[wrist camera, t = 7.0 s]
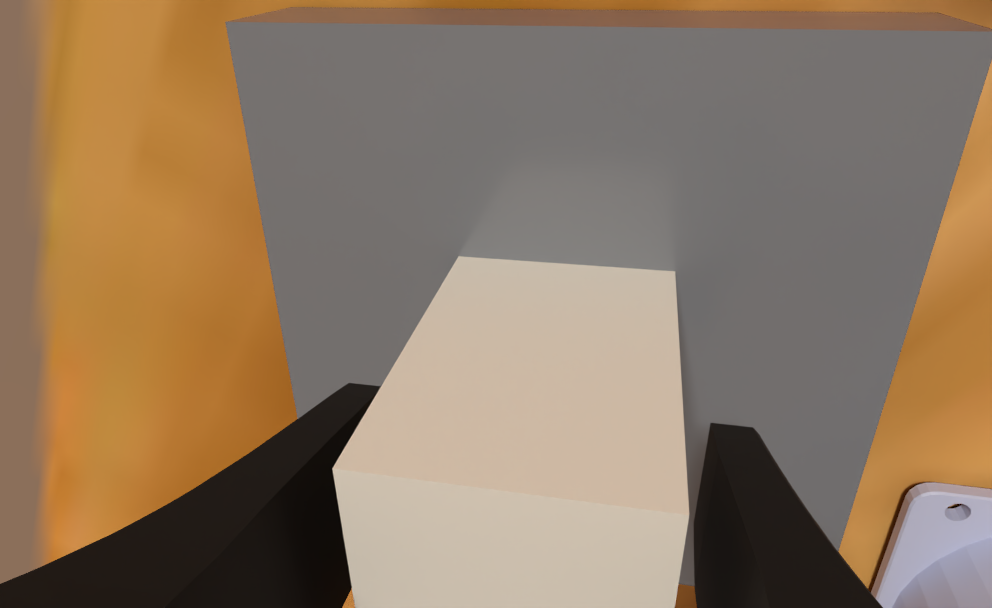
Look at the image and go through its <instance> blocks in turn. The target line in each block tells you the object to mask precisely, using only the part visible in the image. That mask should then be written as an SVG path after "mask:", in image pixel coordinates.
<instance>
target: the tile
mask: <svg viewBox="0 0 992 608" xmlns="http://www.w3.org/2000/svg"><path fill="white" fill-rule="evenodd" d="M226 27H227V33H228V38H229V44H230V49H231V55H232V60H233V66H234V71H235V77H236V82H237V88H238V93H239V99H240V104H241V110H242V115H243V121H244V126H245V131H246V137H247V142H248V148H249V153H250V159H251V164H252V170H253V175H254V181H255V186H256V192H257V197H258V203H259V208H260V214H261V219H262V225H263V230H264V236H265V241H266V247H267V252H268V258H269V263H270V269H271V274H272V280H273V285H274V291H275V296H276V302H277V307H278V313H279V318H280V324H281V329H282V335H283V340H284V345H285V351H286V356H287V362H288V367H289V373H290V378H291V384H292V389H293V395H294V400H295V406H296V411H297V417H298V418H300V417H301V416H303V415H304V414H305V413H307V412H308V411H309V410H311V409H312V408H314V407H315V406H316V405H318V404H319V403H320V402H322V401H323V400H325V399H326V398H327V397H329V396H330V395H332V394H333V393H334V392H336V391H337V390H339V389H340V388H342V387H343V386H345V385H346V384H348V383H355V384H364V385H373V386H382V384H383V383H384V381H385V379H386V377H387V376H388V374H389V372H390V371H391V369H392V367H393V366H394V364H395V362H396V361H397V359H398V357H399V356H400V354H401V352H402V351H403V349H404V347H405V346H406V344H407V342H408V340H409V339H410V337H411V335H412V334H413V332H414V330H415V329H416V327H417V325H418V324H419V322H420V320H421V319H422V317H423V315H424V314H425V312H426V310H427V309H428V307H429V305H430V304H431V302H432V300H433V298H434V297H435V295H436V293H437V292H438V290H439V288H440V287H441V285H442V283H443V282H444V280H445V278H446V277H447V275H448V273H449V272H450V270H451V268H452V267H453V265H454V263H455V262H456V260H457V258H458V256H462V257H476V258H490V259H505V260H519V261H533V262H548V263H562V264H576V265H591V266H605V267H619V268H633V269H648V270H662V271H675V277H676V294H677V311H678V329H679V346H680V363H681V380H682V398H683V415H684V432H685V449H686V467H687V484H688V501H689V520H688V527H687V533H686V539H685V546H684V552H683V558H682V565H681V571H680V577H679V584H683V585H689V586H695V585H694V518H695V512H696V506H697V500H698V494H699V488H700V482H701V476H702V470H703V464H704V458H705V452H706V447H707V441H708V435H709V429H710V423H718V424H727V425H736V426H745V427H753V428H754V429H755V430H756V431H757V432H758V434H759V435H760V436H761V438H762V440H763V441H764V443H765V445H766V446H767V448H768V450H769V451H770V453H771V455H772V456H773V458H774V460H775V461H776V463H777V464H778V466H779V468H780V469H781V471H782V472H783V474H784V475H785V477H786V478H787V480H788V482H789V483H790V485H791V486H792V488H793V489H794V491H795V492H796V494H797V495H798V497H799V498H800V500H801V501H802V503H803V504H804V505H805V507H806V508H807V510H808V511H809V513H810V514H811V515H812V517H813V518H814V520H815V521H816V522H817V524H818V525H819V526H820V528H821V529H822V531H823V532H824V533H825V535H826V536H827V538H828V539H829V540H830V542H831V543H832V544H833V546H834V547H835V548H836V550H837V551H839V547H840V544H841V541H842V538H843V535H844V531H845V528H846V525H847V522H848V519H849V515H850V512H851V509H852V506H853V502H854V499H855V496H856V493H857V490H858V486H859V483H860V480H861V477H862V474H863V470H864V467H865V464H866V461H867V458H868V454H869V451H870V448H871V445H872V442H873V438H874V435H875V432H876V429H877V425H878V422H879V419H880V416H881V413H882V409H883V406H884V403H885V400H886V397H887V393H888V390H889V387H890V384H891V381H892V377H893V374H894V371H895V368H896V365H897V361H898V358H899V355H900V352H901V348H902V345H903V342H904V339H905V336H906V332H907V329H908V326H909V323H910V320H911V316H912V313H913V310H914V307H915V304H916V300H917V297H918V294H919V291H920V288H921V284H922V281H923V278H924V275H925V272H926V268H927V265H928V262H929V259H930V255H931V252H932V249H933V246H934V243H935V239H936V236H937V233H938V230H939V227H940V223H941V220H942V217H943V214H944V211H945V207H946V204H947V201H948V198H949V195H950V191H951V188H952V185H953V182H954V178H955V175H956V172H957V169H958V166H959V162H960V159H961V156H962V153H963V150H964V146H965V143H966V140H967V137H968V134H969V130H970V127H971V124H972V121H973V118H974V114H975V111H976V108H977V105H978V101H979V98H980V95H981V92H982V89H983V85H984V82H985V79H986V76H987V73H988V69H989V66H990V63H991V60H992V29H990V28H986V27H983V26H980V25H977V24H973V23H970V22H967V21H963V20H960V19H957V18H954V17H950V16H947V15H944V14H941V13H907V12H789V11H670V10H551V9H433V8H314V7H290V8H286V9H281V10H277V11H272V12H268V13H263V14H259V15H254V16H250V17H245V18H241V19H236V20H232V21H228V22H226Z"/></svg>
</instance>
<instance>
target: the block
mask: <svg viewBox="0 0 992 608" xmlns="http://www.w3.org/2000/svg"><path fill="white" fill-rule="evenodd" d="M332 470H333V476H334V482H335V488H336V494H337V500H338V506H339V512H340V518H341V524H342V530H343V536H344V543H345V549H346V555H347V561H348V567H349V573H350V579H351V585H352V591H353V597H354V603H355V608H675V603H676V596H677V590H678V584H679V577H680V571H681V565H682V558H683V552H684V546H685V539H686V533H687V527H688V520H689V501H688V484H687V467H686V449H685V432H684V415H683V398H682V380H681V363H680V346H679V329H678V311H677V294H676V277H675V271H662V270H648V269H633V268H619V267H605V266H591V265H576V264H562V263H548V262H533V261H519V260H505V259H490V258H476V257H462V256H458V258H457V260H456V262H455V263H454V265H453V267H452V268H451V270H450V272H449V273H448V275H447V277H446V278H445V280H444V282H443V283H442V285H441V287H440V288H439V290H438V292H437V293H436V295H435V297H434V298H433V300H432V302H431V304H430V305H429V307H428V309H427V310H426V312H425V314H424V315H423V317H422V319H421V320H420V322H419V324H418V325H417V327H416V329H415V330H414V332H413V334H412V335H411V337H410V339H409V340H408V342H407V344H406V346H405V347H404V349H403V351H402V352H401V354H400V356H399V357H398V359H397V361H396V362H395V364H394V366H393V367H392V369H391V371H390V372H389V374H388V376H387V377H386V379H385V381H384V383H383V384H382V386H381V388H380V389H379V391H378V393H377V394H376V396H375V398H374V399H373V401H372V403H371V404H370V406H369V408H368V409H367V411H366V413H365V414H364V416H363V418H362V419H361V421H360V423H359V425H358V426H357V428H356V430H355V431H354V433H353V435H352V436H351V438H350V440H349V441H348V443H347V445H346V446H345V448H344V450H343V451H342V453H341V455H340V456H339V458H338V460H337V462H336V463H335V465H334V467H333V468H332Z"/></svg>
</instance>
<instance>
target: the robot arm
mask: <svg viewBox="0 0 992 608" xmlns="http://www.w3.org/2000/svg"><path fill="white" fill-rule="evenodd" d="M380 388H381V386H373V385H364V384H355V383H348V384H346V385H345V386H343V387H342V388H340V389H339V390H337V391H336V392H334V393H333V394H332V395H330V396H329V397H327V398H326V399H325V400H323V401H322V402H320V403H319V404H318V405H316V406H315V407H314V408H312V409H311V410H309V411H308V412H307V413H305V414H304V415H303V416H301V417H300V418H298V419H297V420H296V421H294V422H293V423H292V424H290V425H289V426H287V427H286V428H284V429H283V430H282V431H280V432H279V433H277V434H276V435H274V436H273V437H272V438H270V439H269V440H267V441H266V442H265V443H263V444H262V445H260V446H259V447H257V448H256V449H255V450H253V451H252V452H250V453H249V454H247V455H246V456H244V457H243V458H241V459H239V460H238V461H236V462H235V463H233V464H232V465H230V466H229V467H227V468H225V469H224V470H222V471H221V472H219V473H218V474H216V475H215V476H213V477H211V478H210V479H208V480H207V481H205V482H204V483H202V484H201V485H199V486H197V487H196V488H194V489H193V490H191V491H189V492H188V493H186V494H184V495H183V496H181V497H179V498H178V499H176V500H174V501H172V502H171V503H169V504H167V505H165V506H164V507H162V508H160V509H158V510H156V511H154V512H153V513H151V514H149V515H147V516H145V517H143V518H141V519H140V520H138V521H136V522H134V523H132V524H130V525H128V526H127V527H125V528H123V529H121V530H119V531H117V532H115V533H113V534H111V535H109V536H107V537H104V538H102V539H100V540H98V541H96V542H94V543H92V544H89V545H87V546H85V547H83V548H81V549H79V550H77V551H74V552H72V553H70V554H68V555H66V556H64V557H61V558H59V559H57V560H55V561H53V562H51V563H49V564H46V565H44V566H42V567H40V568H38V569H35V570H33V571H31V572H28V573H26V574H24V575H21V576H19V577H16V578H14V579H12V580H9V581H7V582H4V583H2V584H0V608H342V607H343V604H344V602H345V600H346V598H347V596H348V594H349V592H350V590H351V588H352V585H351V579H350V573H349V567H348V561H347V555H346V549H345V543H344V536H343V530H342V524H341V518H340V512H339V506H338V500H337V494H336V488H335V482H334V476H333V470H332V468H333V467H334V465H335V463H336V462H337V460H338V458H339V456H340V455H341V453H342V451H343V450H344V448H345V446H346V445H347V443H348V441H349V440H350V438H351V436H352V435H353V433H354V431H355V430H356V428H357V426H358V425H359V423H360V421H361V419H362V418H363V416H364V414H365V413H366V411H367V409H368V408H369V406H370V404H371V403H372V401H373V399H374V398H375V396H376V394H377V393H378V391H379V389H380ZM953 504H962V505H961V506H959V507H956V508H949V509H948V507H949V506H951V505H953ZM694 585H695V594H696V602H697V608H992V489H986V488H977V487H969V486H961V485H952V484H944V483H935V482H933V483H922V484H919V485H916V486H915V487H913V488H912V489H910V490H909V491H908V493H907V494H906V496H905V499H904V502H903V504H902V507H901V510H900V513H899V516H898V518H897V521H896V524H895V527H894V530H893V532H892V535H891V538H890V541H889V544H888V546H887V549H886V552H885V555H884V558H883V560H882V563H881V566H880V569H879V572H878V574H877V577H876V580H875V583H874V586H873V588H872V591H871V593H870V591H869V590H868V589H867V588H866V586H865V585H864V584H863V583H862V581H861V580H860V579H859V578H858V577H857V575H856V574H855V573H854V572H853V570H852V569H851V568H850V567H849V565H848V564H847V563H846V561H845V560H844V559H843V558H842V556H841V555H840V554H839V552H838V551H837V550H836V548H835V547H834V546H833V544H832V543H831V542H830V540H829V539H828V538H827V536H826V535H825V533H824V532H823V531H822V529H821V528H820V526H819V525H818V524H817V522H816V521H815V520H814V518H813V517H812V515H811V514H810V513H809V511H808V510H807V508H806V507H805V505H804V504H803V503H802V501H801V500H800V498H799V497H798V495H797V494H796V492H795V491H794V489H793V488H792V486H791V485H790V483H789V482H788V480H787V478H786V477H785V475H784V474H783V472H782V471H781V469H780V468H779V466H778V464H777V463H776V461H775V460H774V458H773V456H772V455H771V453H770V451H769V450H768V448H767V446H766V445H765V443H764V441H763V440H762V438H761V436H760V435H759V434H758V432H757V431H756V430H755V429H754V428H753V427H745V426H736V425H727V424H718V423H710V429H709V435H708V441H707V447H706V452H705V458H704V464H703V470H702V476H701V482H700V488H699V494H698V500H697V506H696V512H695V518H694Z"/></svg>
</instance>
